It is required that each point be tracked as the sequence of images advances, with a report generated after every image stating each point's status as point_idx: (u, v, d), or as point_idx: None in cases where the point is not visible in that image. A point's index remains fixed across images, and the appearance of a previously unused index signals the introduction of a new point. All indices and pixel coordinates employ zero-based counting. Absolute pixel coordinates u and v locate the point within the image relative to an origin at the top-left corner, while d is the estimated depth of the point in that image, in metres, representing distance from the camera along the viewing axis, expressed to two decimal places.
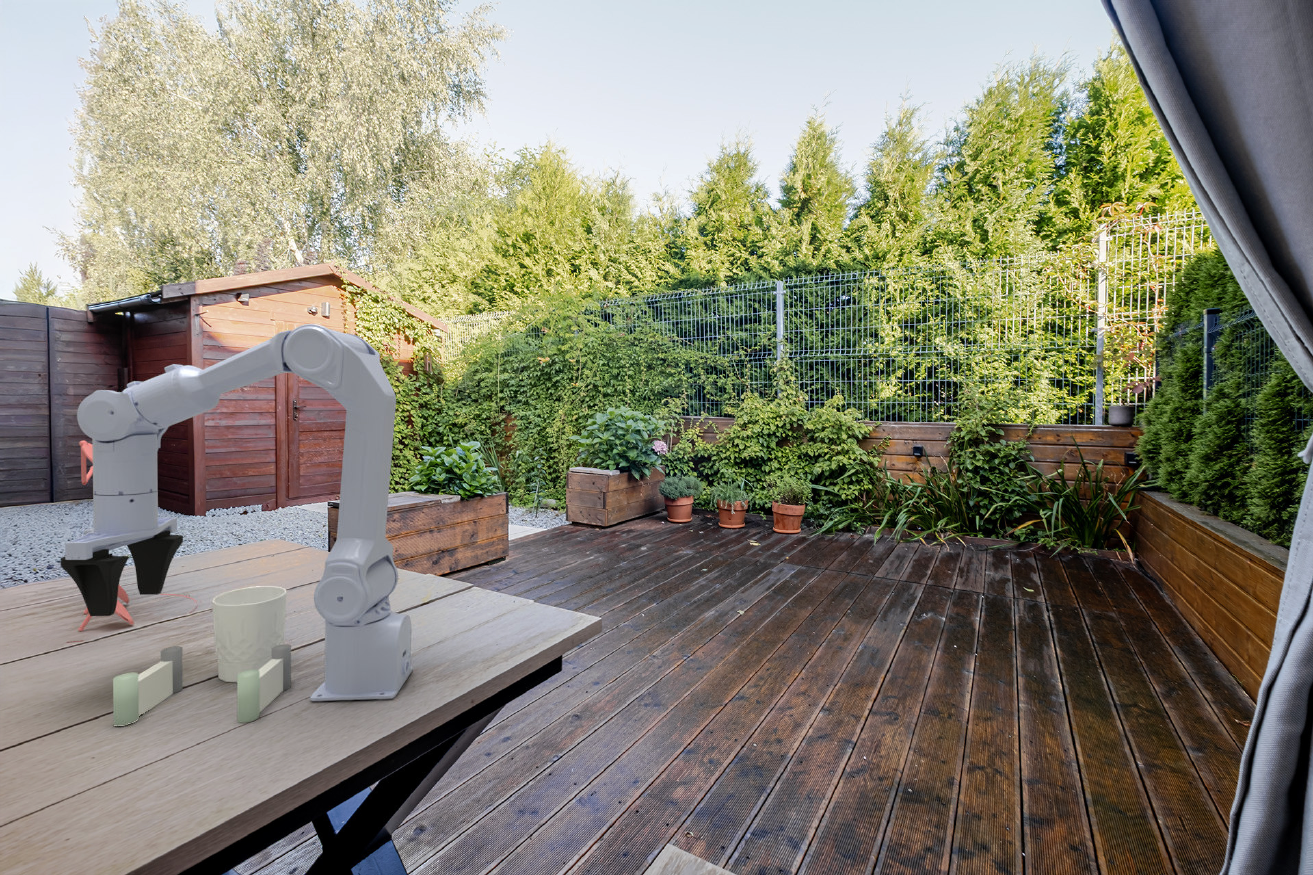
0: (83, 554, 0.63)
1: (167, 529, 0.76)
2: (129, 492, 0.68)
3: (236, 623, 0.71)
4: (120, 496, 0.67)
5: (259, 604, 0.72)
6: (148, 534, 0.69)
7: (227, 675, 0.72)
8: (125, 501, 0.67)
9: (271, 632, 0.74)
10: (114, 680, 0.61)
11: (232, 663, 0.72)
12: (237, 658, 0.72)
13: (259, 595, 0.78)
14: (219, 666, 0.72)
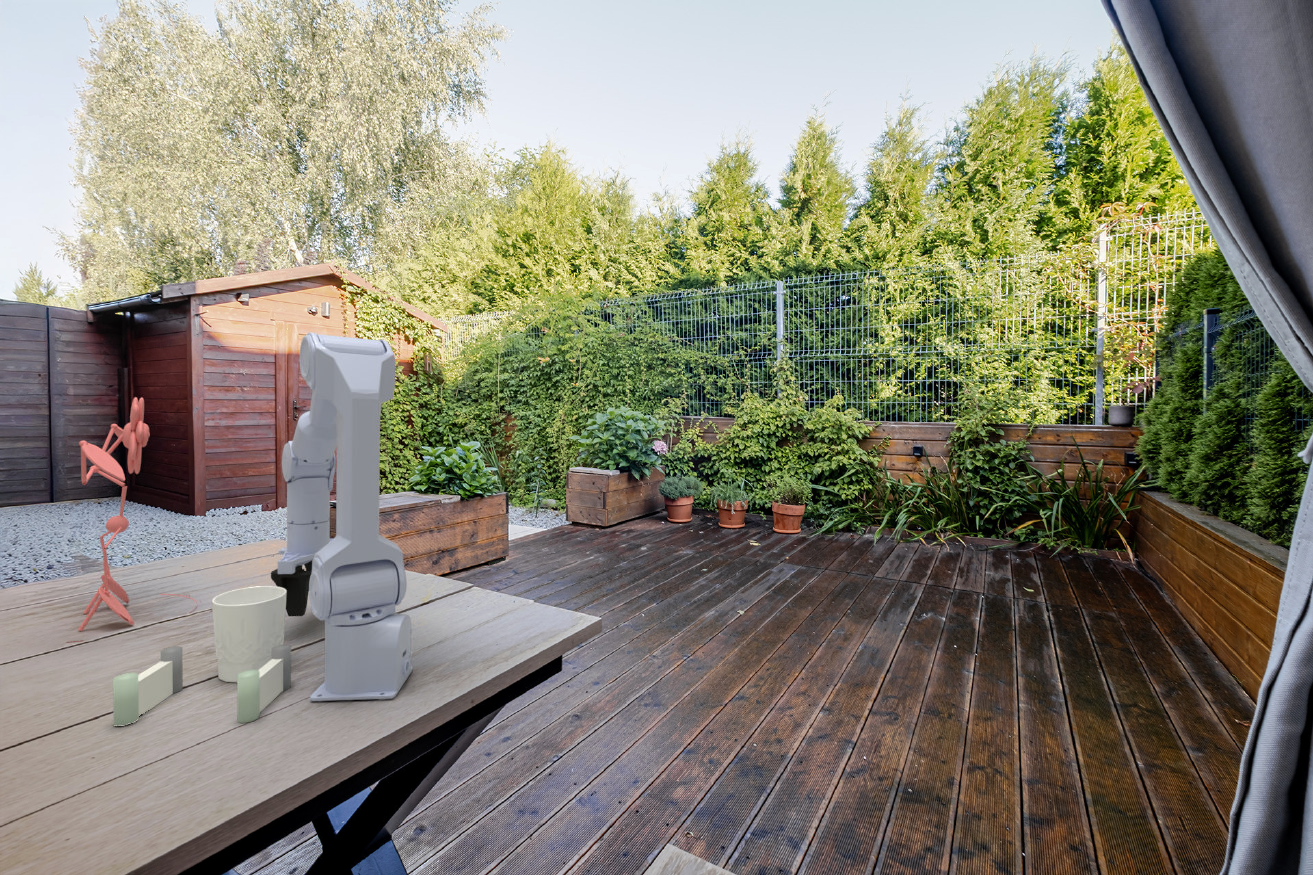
0: (290, 570, 0.83)
1: None
2: (296, 522, 0.87)
3: (236, 623, 0.71)
4: (308, 524, 0.88)
5: (259, 604, 0.72)
6: None
7: (227, 675, 0.72)
8: (312, 528, 0.88)
9: (271, 632, 0.74)
10: (114, 680, 0.61)
11: (232, 663, 0.72)
12: (237, 658, 0.72)
13: (259, 595, 0.78)
14: (219, 666, 0.72)
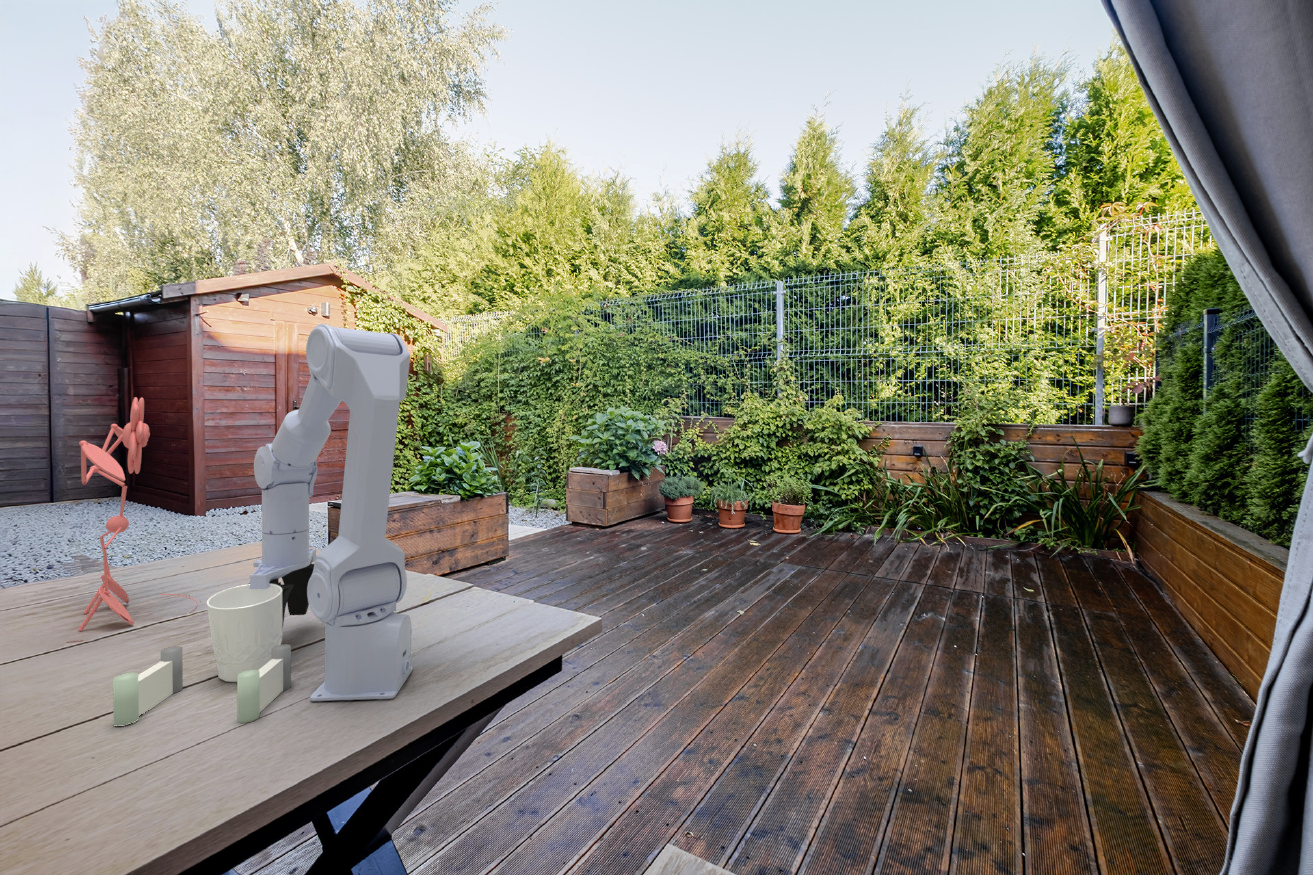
0: (264, 584, 0.76)
1: None
2: (276, 532, 0.80)
3: (232, 626, 0.70)
4: (285, 534, 0.81)
5: (254, 606, 0.71)
6: (304, 565, 0.83)
7: (227, 676, 0.72)
8: (289, 539, 0.81)
9: (268, 632, 0.73)
10: (114, 680, 0.61)
11: (231, 664, 0.71)
12: (235, 659, 0.71)
13: (255, 592, 0.77)
14: (218, 666, 0.72)
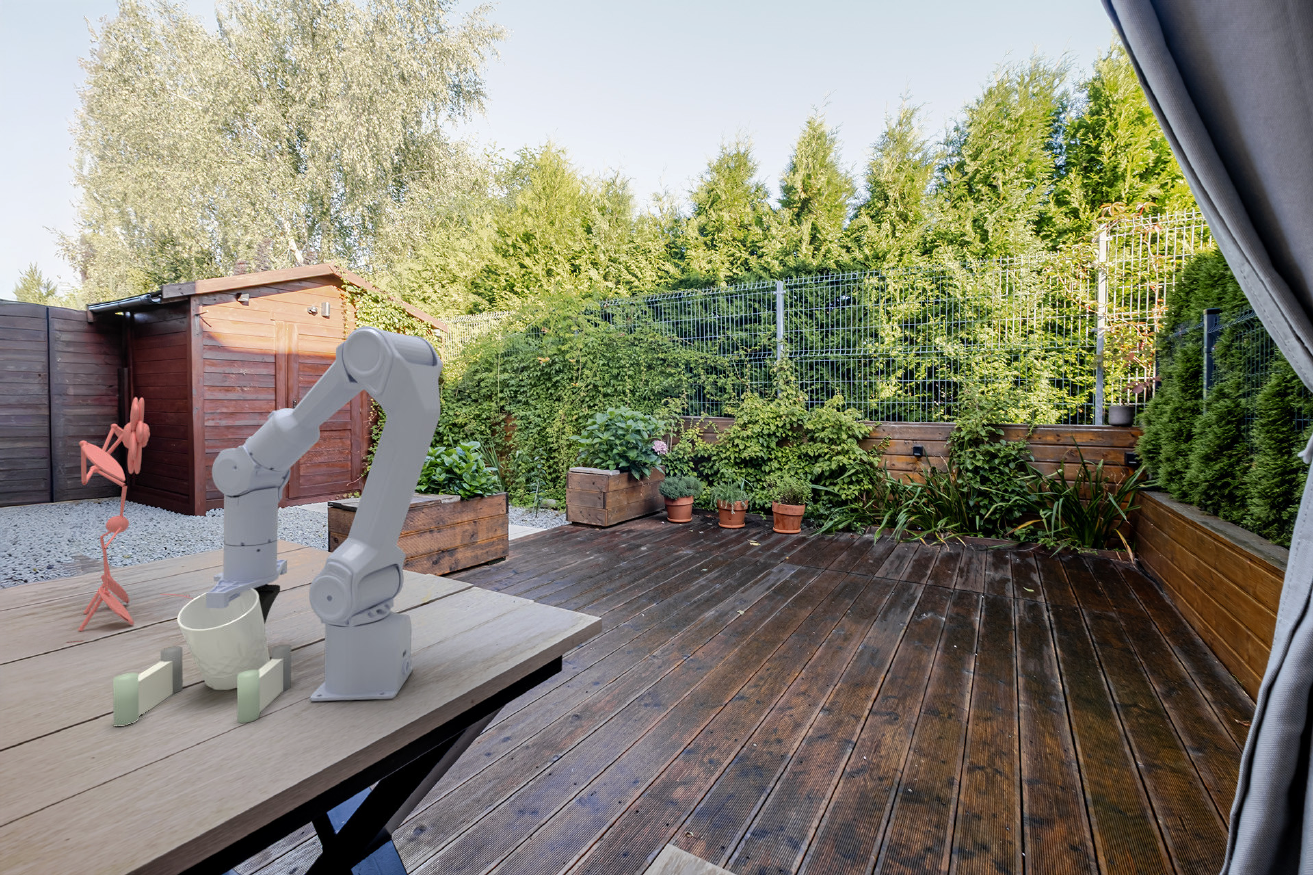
0: (222, 603, 0.68)
1: None
2: (249, 543, 0.73)
3: (212, 645, 0.66)
4: (249, 546, 0.73)
5: (232, 624, 0.67)
6: (271, 580, 0.75)
7: (215, 685, 0.69)
8: (253, 551, 0.73)
9: (251, 642, 0.70)
10: (114, 680, 0.61)
11: (218, 675, 0.69)
12: (221, 672, 0.68)
13: None
14: (204, 676, 0.69)
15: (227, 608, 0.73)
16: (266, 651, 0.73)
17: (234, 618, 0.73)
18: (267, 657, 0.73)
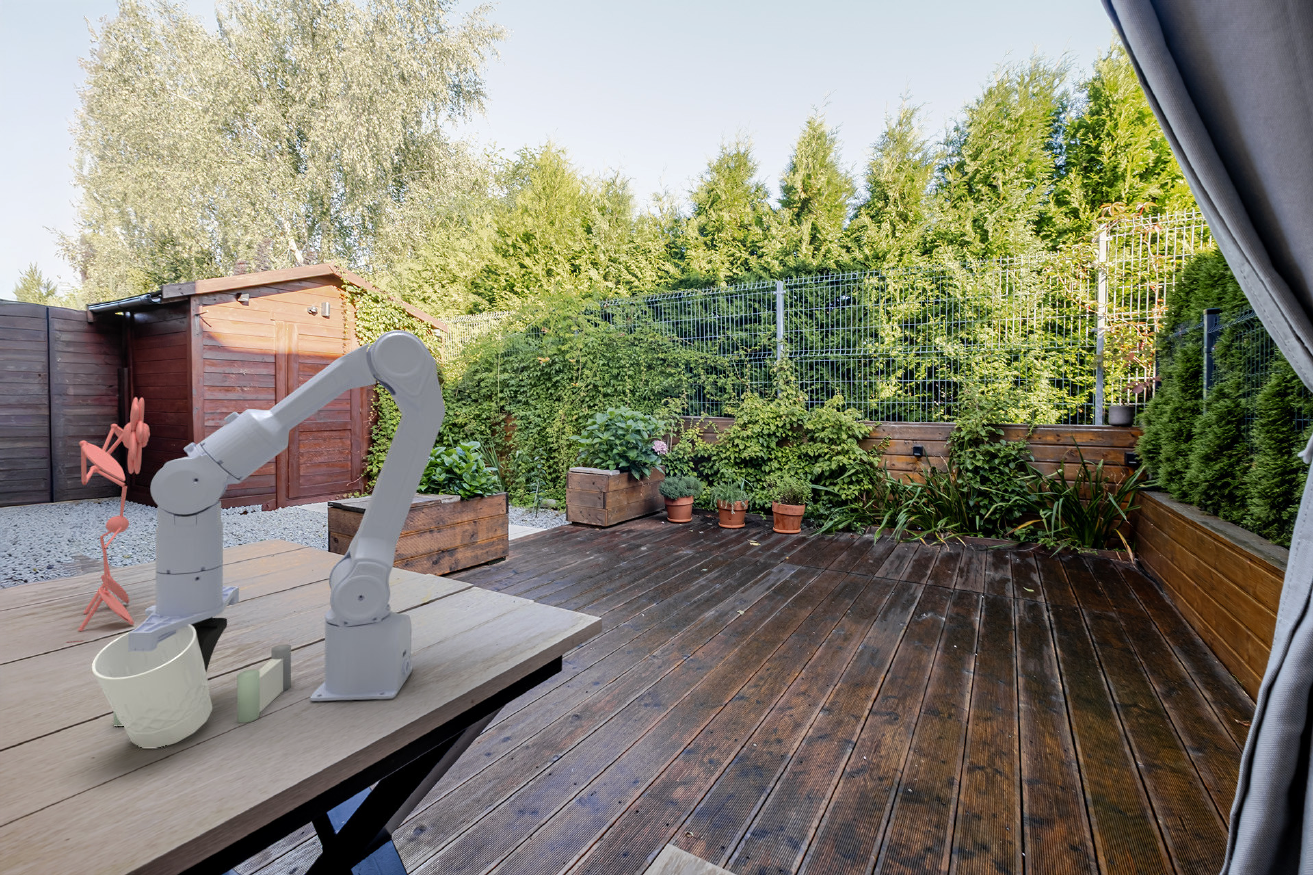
0: (148, 645, 0.56)
1: None
2: (210, 567, 0.62)
3: (133, 696, 0.55)
4: (185, 574, 0.61)
5: (158, 670, 0.55)
6: (213, 614, 0.63)
7: (141, 743, 0.57)
8: (190, 580, 0.61)
9: (186, 690, 0.58)
10: None
11: (144, 732, 0.57)
12: (148, 727, 0.57)
13: None
14: (128, 732, 0.58)
15: (160, 648, 0.61)
16: (207, 699, 0.61)
17: (169, 660, 0.62)
18: (208, 706, 0.62)
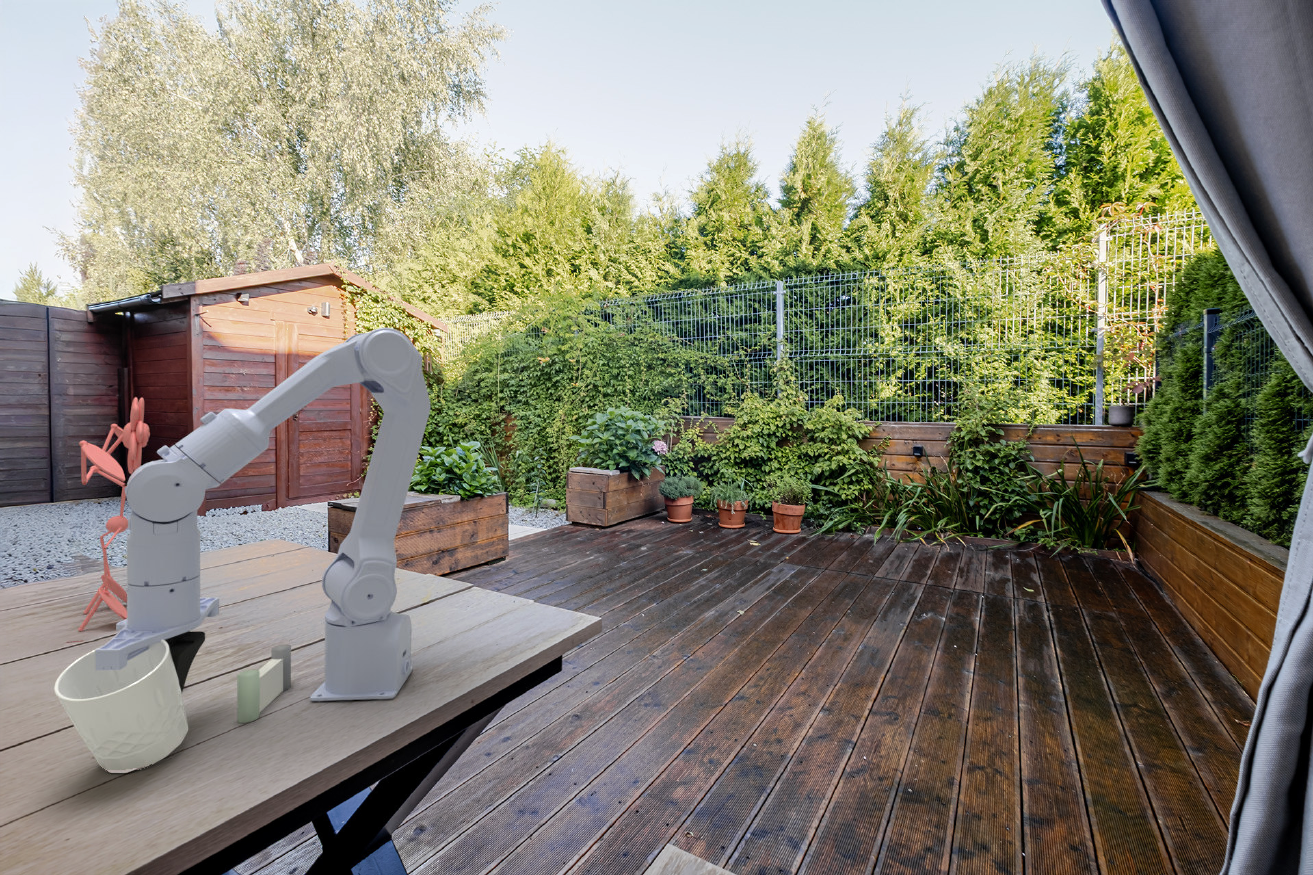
0: (116, 663, 0.52)
1: (208, 612, 0.66)
2: (191, 576, 0.59)
3: (99, 718, 0.51)
4: (159, 586, 0.57)
5: (125, 690, 0.51)
6: (190, 628, 0.59)
7: (109, 768, 0.54)
8: (164, 592, 0.57)
9: (157, 712, 0.54)
10: None
11: (112, 756, 0.53)
12: (116, 751, 0.53)
13: None
14: (95, 756, 0.54)
15: (132, 665, 0.57)
16: (182, 719, 0.57)
17: (142, 677, 0.58)
18: (183, 727, 0.58)
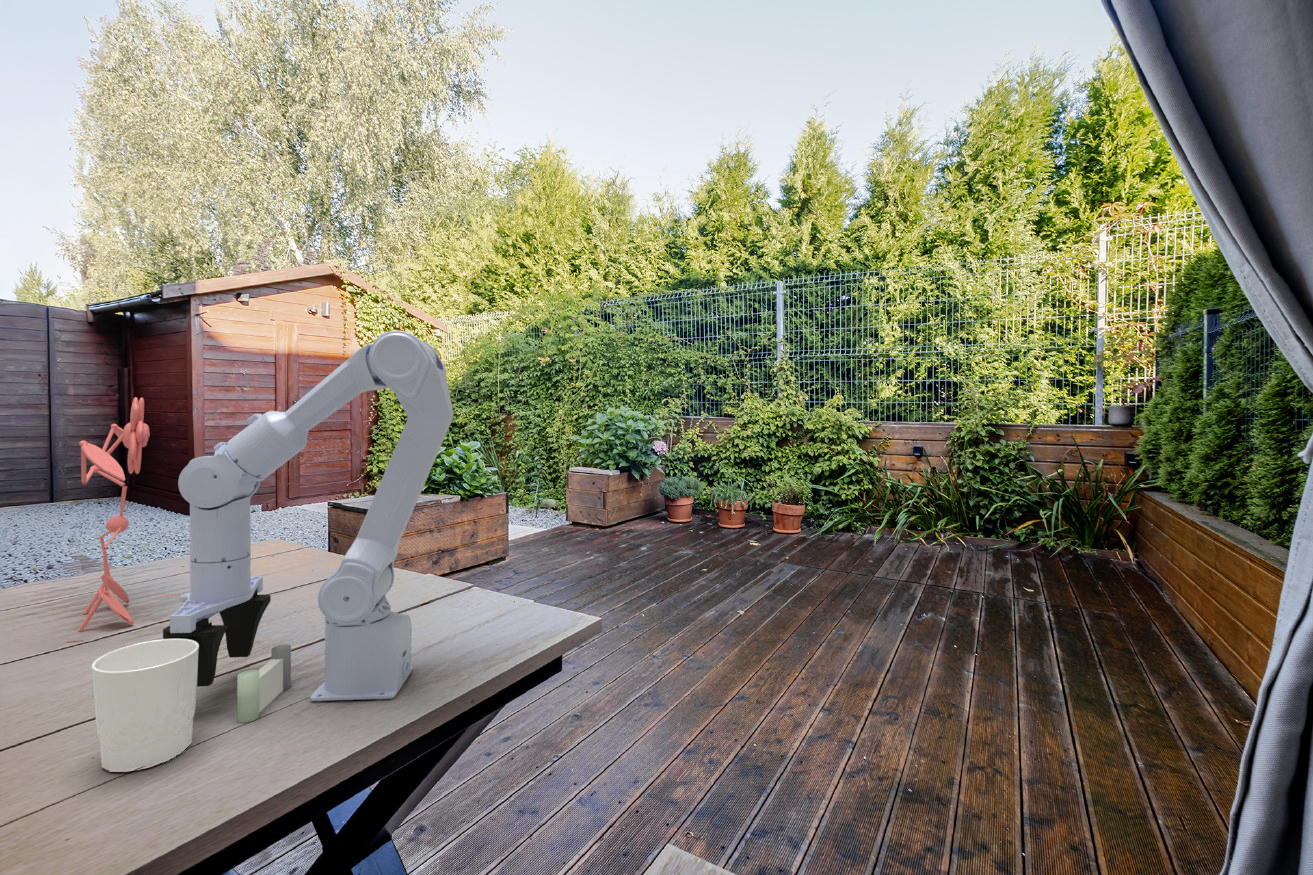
0: (188, 627, 0.62)
1: (254, 589, 0.75)
2: (231, 558, 0.67)
3: (125, 696, 0.53)
4: (218, 563, 0.66)
5: (157, 668, 0.54)
6: (244, 600, 0.68)
7: (113, 765, 0.54)
8: (223, 568, 0.66)
9: (175, 703, 0.56)
10: None
11: (120, 748, 0.54)
12: (126, 741, 0.54)
13: (162, 651, 0.60)
14: (102, 752, 0.54)
15: None
16: (190, 727, 0.58)
17: None
18: (189, 736, 0.58)
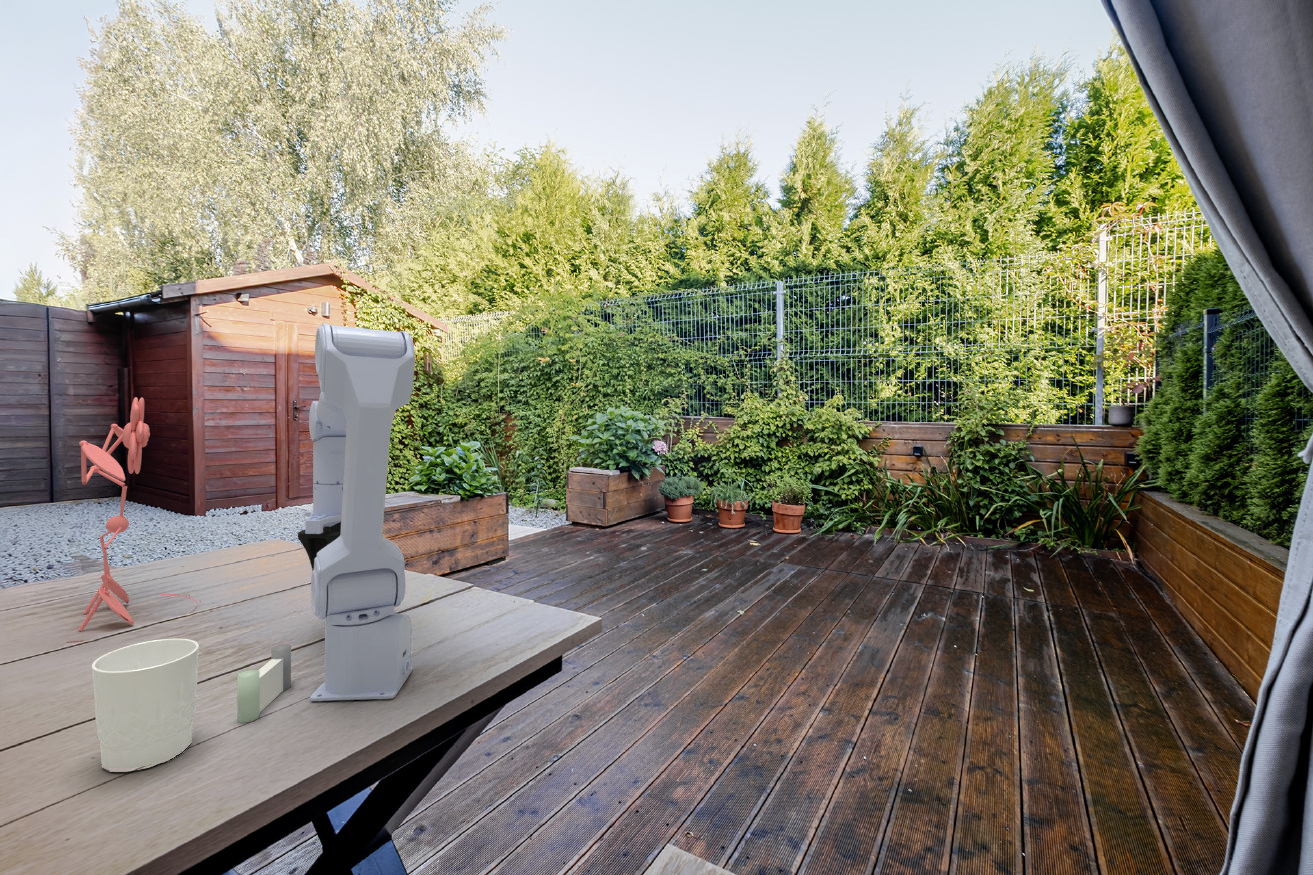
0: (318, 529, 0.81)
1: None
2: (321, 482, 0.85)
3: (125, 696, 0.53)
4: (336, 485, 0.85)
5: (157, 668, 0.54)
6: None
7: (113, 765, 0.54)
8: (339, 489, 0.85)
9: (175, 703, 0.56)
10: None
11: (120, 748, 0.54)
12: (126, 741, 0.54)
13: (162, 651, 0.60)
14: (102, 752, 0.54)
15: None
16: (190, 727, 0.58)
17: None
18: (189, 736, 0.58)
